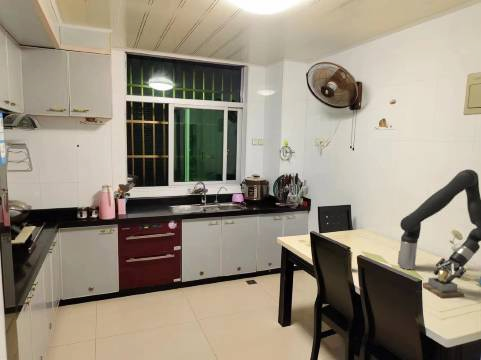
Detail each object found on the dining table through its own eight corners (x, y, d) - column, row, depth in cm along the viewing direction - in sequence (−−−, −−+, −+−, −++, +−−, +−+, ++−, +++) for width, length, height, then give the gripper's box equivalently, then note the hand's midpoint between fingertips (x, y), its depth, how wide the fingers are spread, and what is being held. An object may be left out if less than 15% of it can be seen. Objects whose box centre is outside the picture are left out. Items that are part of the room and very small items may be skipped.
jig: (420, 285, 180) (421, 276, 179) (442, 284, 182) (443, 275, 182) (441, 298, 166) (442, 288, 165) (463, 296, 169) (465, 286, 168)
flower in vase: (467, 273, 200) (472, 234, 197) (446, 270, 202) (451, 232, 199) (457, 265, 213) (462, 228, 210) (438, 263, 215) (442, 226, 212)
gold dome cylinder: (435, 286, 176) (436, 269, 175) (442, 286, 177) (443, 268, 176) (441, 290, 172) (443, 272, 170) (448, 289, 172) (450, 271, 171)
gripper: (447, 247, 180) (427, 267, 179) (469, 256, 166) (448, 278, 165) (453, 255, 182) (434, 276, 181) (477, 265, 168) (456, 288, 167)
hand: (441, 277), depth 173 cm, fingers open, 8 cm apart
